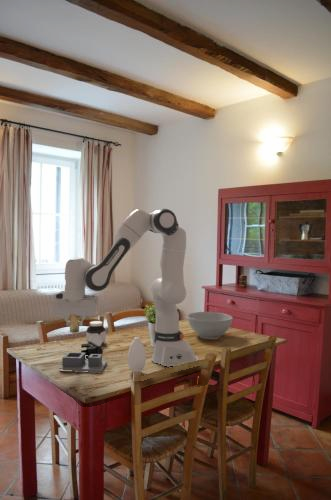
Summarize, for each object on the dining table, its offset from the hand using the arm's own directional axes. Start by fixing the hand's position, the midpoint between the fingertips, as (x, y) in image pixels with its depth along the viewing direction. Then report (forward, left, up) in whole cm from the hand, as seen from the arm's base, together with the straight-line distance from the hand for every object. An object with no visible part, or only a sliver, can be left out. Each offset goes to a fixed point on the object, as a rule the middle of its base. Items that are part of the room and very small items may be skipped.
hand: (74, 325), depth 172 cm
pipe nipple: (0, 0, -3) cm, 3 cm away
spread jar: (-2, -36, -19) cm, 41 cm away
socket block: (-5, 0, -19) cm, 19 cm away
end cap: (-5, -14, -19) cm, 24 cm away
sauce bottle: (-29, +4, -19) cm, 34 cm away
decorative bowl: (-64, -61, -19) cm, 90 cm away
